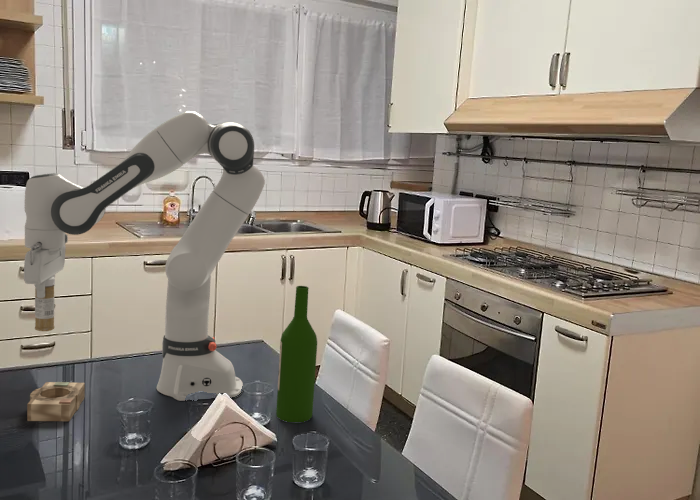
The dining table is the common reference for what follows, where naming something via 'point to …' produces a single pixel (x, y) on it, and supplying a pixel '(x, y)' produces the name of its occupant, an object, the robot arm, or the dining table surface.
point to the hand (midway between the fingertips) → (45, 294)
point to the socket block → (55, 401)
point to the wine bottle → (297, 364)
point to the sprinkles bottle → (45, 307)
